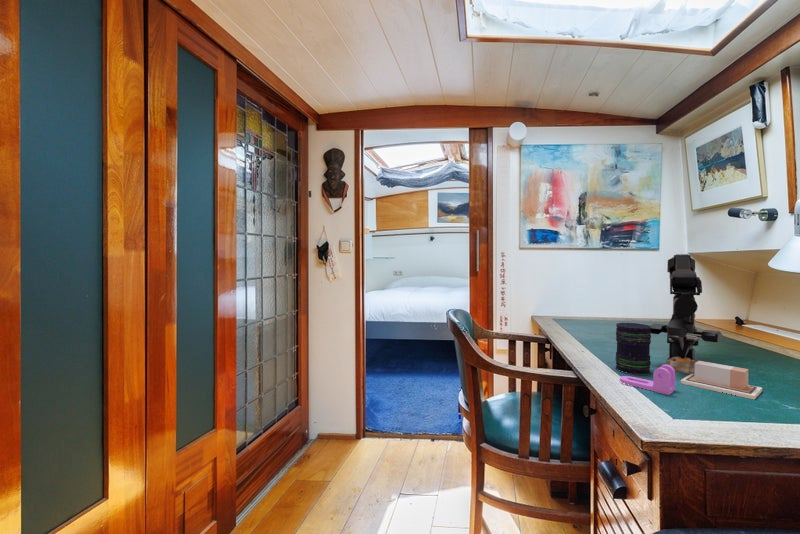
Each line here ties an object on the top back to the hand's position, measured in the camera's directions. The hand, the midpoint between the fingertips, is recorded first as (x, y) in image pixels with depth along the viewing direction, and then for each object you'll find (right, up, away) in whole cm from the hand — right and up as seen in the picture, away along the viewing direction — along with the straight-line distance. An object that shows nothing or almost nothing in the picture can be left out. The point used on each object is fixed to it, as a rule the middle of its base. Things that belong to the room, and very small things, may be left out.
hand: (682, 358), depth 124 cm
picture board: (-2, -4, -16) cm, 17 cm away
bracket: (-23, -5, -16) cm, 28 cm away
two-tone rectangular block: (-2, -3, -17) cm, 17 cm away
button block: (0, -4, 0) cm, 4 cm away
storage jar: (-17, -4, 0) cm, 17 cm away
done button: (0, -3, 0) cm, 3 cm away
